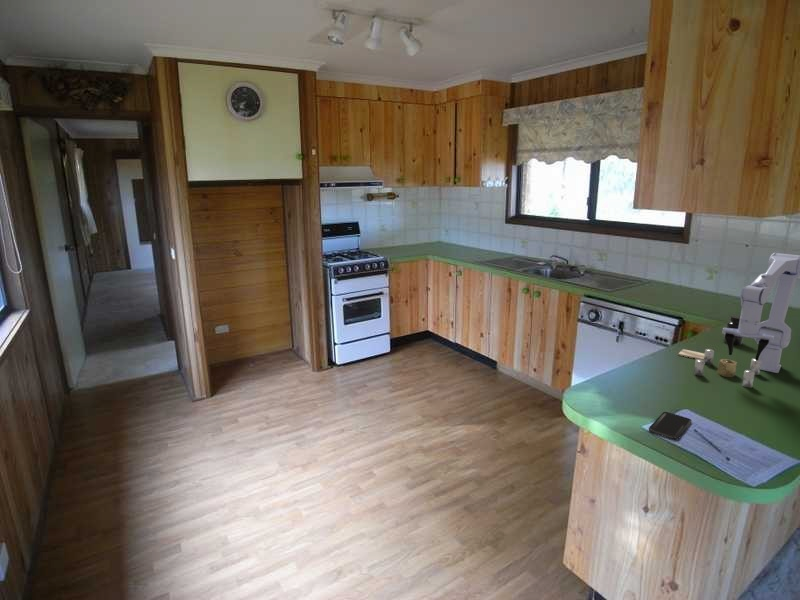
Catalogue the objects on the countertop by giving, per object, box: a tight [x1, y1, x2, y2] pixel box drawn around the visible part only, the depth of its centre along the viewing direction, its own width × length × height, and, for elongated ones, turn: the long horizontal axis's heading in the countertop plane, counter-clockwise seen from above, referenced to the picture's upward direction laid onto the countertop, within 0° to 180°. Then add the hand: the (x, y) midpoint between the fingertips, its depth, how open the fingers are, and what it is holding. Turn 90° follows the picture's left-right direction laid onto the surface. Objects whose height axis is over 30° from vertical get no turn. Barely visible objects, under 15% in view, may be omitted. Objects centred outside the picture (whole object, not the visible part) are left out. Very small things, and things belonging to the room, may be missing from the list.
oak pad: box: [677, 348, 705, 360], centre depth 195 cm, size 7×9×1 cm
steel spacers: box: [692, 348, 762, 389], centre depth 176 cm, size 18×18×6 cm
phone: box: [648, 411, 692, 441], centre depth 140 cm, size 8×1×15 cm
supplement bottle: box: [723, 315, 744, 346], centre depth 208 cm, size 7×7×12 cm
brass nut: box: [717, 358, 738, 378], centre depth 176 cm, size 6×5×5 cm
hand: (743, 356), depth 167 cm, fingers open, 7 cm apart
